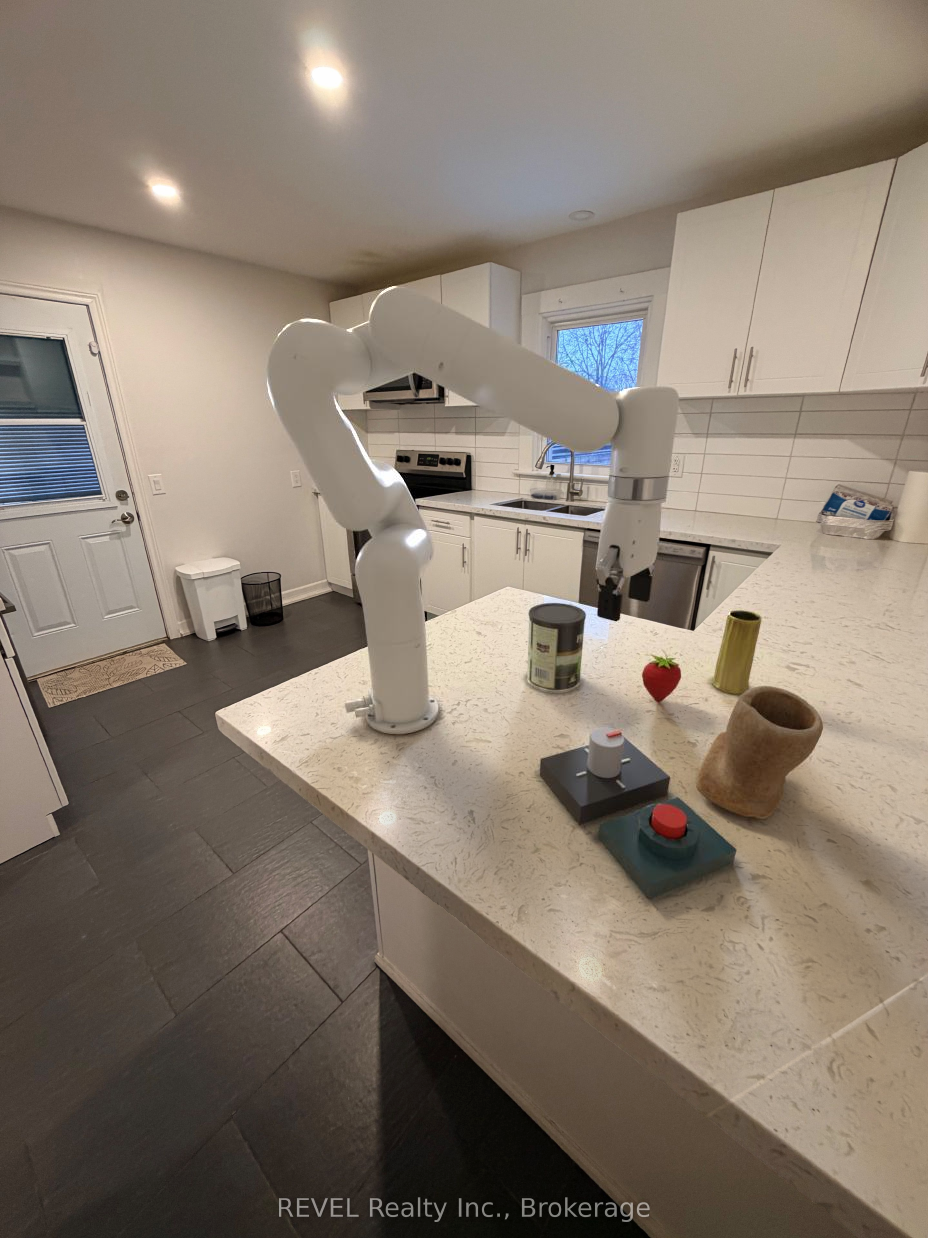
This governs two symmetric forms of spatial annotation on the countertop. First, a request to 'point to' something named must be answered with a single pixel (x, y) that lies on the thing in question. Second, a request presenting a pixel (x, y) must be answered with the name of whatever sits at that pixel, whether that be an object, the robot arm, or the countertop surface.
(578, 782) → the hob panel
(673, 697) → the countertop surface
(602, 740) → the hob knob
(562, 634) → the coffee can
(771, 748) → the stone cup
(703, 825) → the button block
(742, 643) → the vase
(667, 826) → the button
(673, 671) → the strawberry
